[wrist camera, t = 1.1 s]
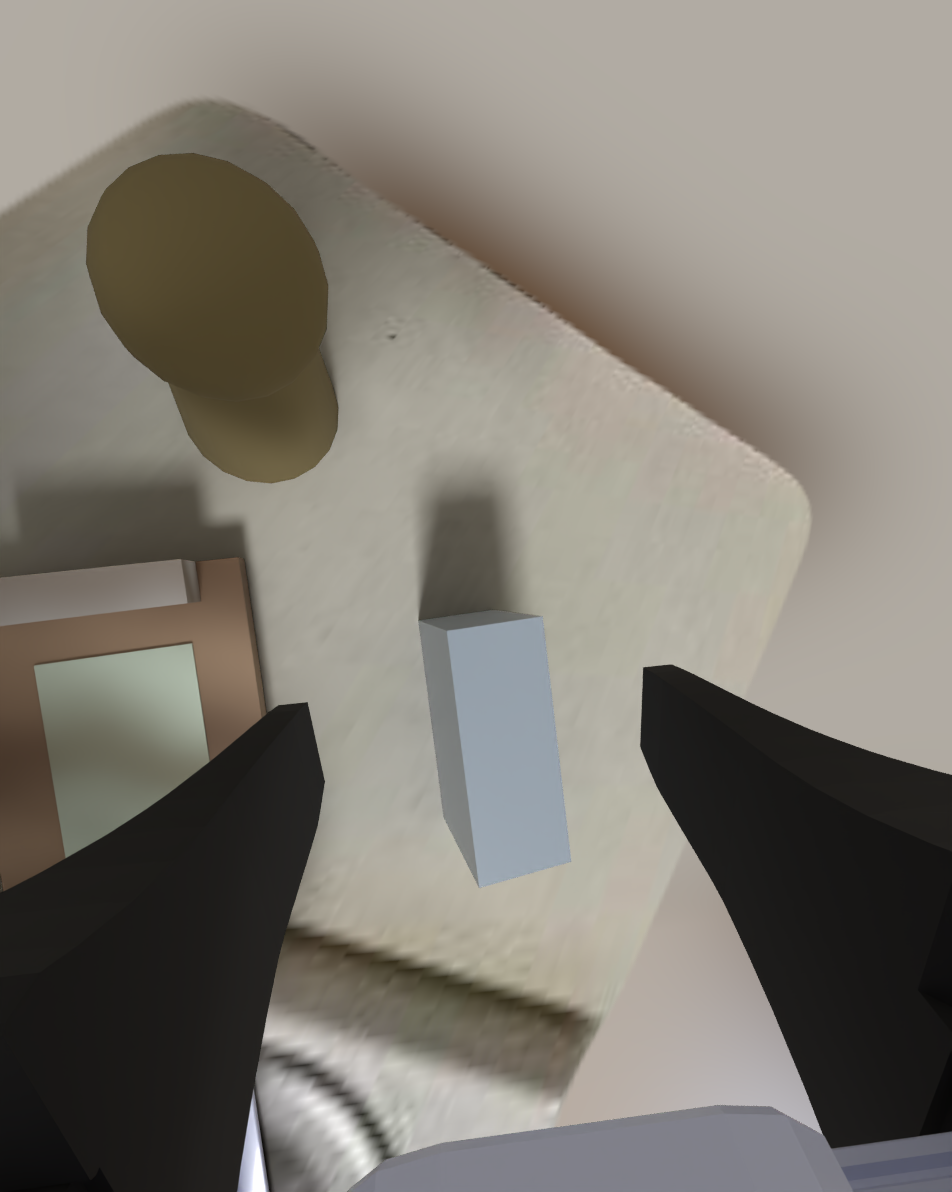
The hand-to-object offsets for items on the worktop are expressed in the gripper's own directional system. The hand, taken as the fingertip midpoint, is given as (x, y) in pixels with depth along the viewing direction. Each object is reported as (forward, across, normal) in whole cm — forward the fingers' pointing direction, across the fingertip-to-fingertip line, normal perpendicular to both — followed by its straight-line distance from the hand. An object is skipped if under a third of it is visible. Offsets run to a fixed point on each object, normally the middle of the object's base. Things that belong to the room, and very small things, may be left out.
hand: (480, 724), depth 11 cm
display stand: (+9, +13, +5) cm, 16 cm away
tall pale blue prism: (+11, 0, +7) cm, 13 cm away
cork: (+14, +7, -7) cm, 17 cm away
